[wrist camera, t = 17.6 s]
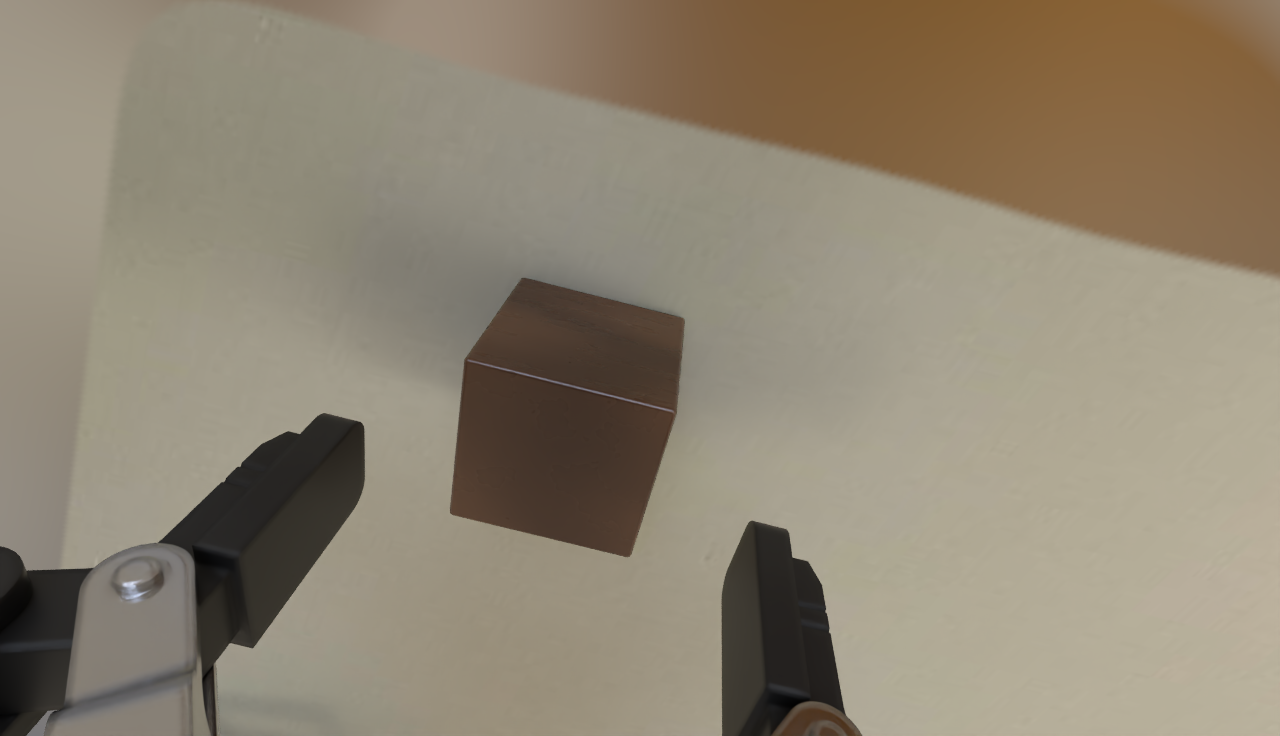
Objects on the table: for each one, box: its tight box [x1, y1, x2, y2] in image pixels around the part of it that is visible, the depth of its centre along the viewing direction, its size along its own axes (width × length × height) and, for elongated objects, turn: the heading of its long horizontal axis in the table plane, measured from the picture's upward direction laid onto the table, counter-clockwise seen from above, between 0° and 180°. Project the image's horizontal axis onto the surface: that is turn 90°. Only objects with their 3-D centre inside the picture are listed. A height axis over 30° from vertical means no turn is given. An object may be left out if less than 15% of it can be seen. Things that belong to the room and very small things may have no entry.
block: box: [450, 278, 685, 557], centre depth 16 cm, size 4×4×4 cm
